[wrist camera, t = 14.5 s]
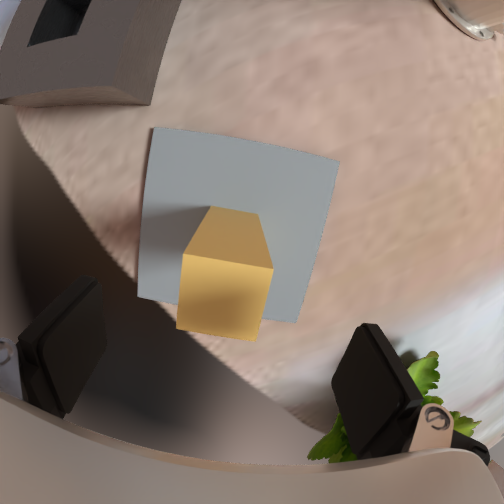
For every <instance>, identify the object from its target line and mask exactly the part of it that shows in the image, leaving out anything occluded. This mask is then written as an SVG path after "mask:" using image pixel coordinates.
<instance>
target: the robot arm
mask: <svg viewBox="0 0 504 504" xmlns="http://www.w3.org/2000/svg"><path fill="white" fill-rule="evenodd" d="M434 1H435V3H436V4H437V5H438V7H439V8H440V9H441V10H442V11H443V13H444V14H445V15H446V16H447V17H448V18H449V19H450V20H451V21H452V22H453V23H454V24H455V25H456V26H457V27H458V28H460V29H461V30H462V31H463V32H464V33H466V34H467V35H469V36H470V37H472V38H474V39H477V40H480V41H484V40H488V39H491V38H492V37H493V34H494V31H497V32H498V33H502V34H503V35H504V0H434ZM18 340H19V342H18V343H17V344H16V345H15V344H14V342H12V341H11V340H9V339H6V338H0V504H504V469H503V468H502V467H501V466H499V465H498V464H497V463H496V462H495V461H493V460H491V461H490V455H489V452H488V449H487V447H486V446H485V445H484V444H482V443H480V442H478V441H476V440H474V439H472V438H470V437H468V436H466V435H464V434H462V433H460V432H458V431H456V430H454V429H453V427H454V420H453V418H452V415H451V414H450V412H449V411H448V410H447V409H446V408H444V407H443V406H441V405H438V404H435V403H430V404H426V405H425V406H424V407H422V406H421V403H422V401H423V400H424V398H423V396H422V394H421V392H420V391H419V389H418V387H417V386H416V384H415V382H414V381H413V379H412V377H411V376H410V374H409V372H408V371H407V369H406V368H405V366H404V364H403V363H402V361H401V360H400V358H399V356H398V355H397V353H396V352H395V350H394V349H393V347H392V345H391V344H390V342H389V341H388V339H387V338H386V336H385V335H384V333H383V332H382V330H381V329H380V327H379V326H378V325H377V324H369V323H363V324H362V325H361V326H360V327H357V328H356V330H355V332H354V334H353V336H352V339H351V341H350V343H349V345H348V347H347V349H346V351H345V353H344V355H343V358H342V360H341V362H340V364H339V366H338V368H337V370H336V372H335V373H334V375H333V378H332V382H331V384H332V389H333V392H334V395H335V398H336V401H337V404H338V407H339V411H340V414H341V417H342V420H343V424H344V427H345V430H346V434H347V437H348V440H349V444H350V447H351V450H352V453H353V454H356V456H357V461H349V462H340V463H329V464H313V465H255V464H241V463H230V462H221V461H212V460H204V459H198V458H192V457H186V456H181V455H176V454H171V453H166V452H161V451H157V450H153V449H149V448H145V447H141V446H137V445H133V444H130V443H127V442H123V441H120V440H117V439H114V438H111V437H108V436H105V435H102V434H99V433H96V432H94V431H91V430H88V429H86V428H83V427H81V426H78V425H75V424H73V423H70V422H68V421H65V420H63V418H64V416H65V414H66V413H70V412H71V411H72V408H73V407H74V405H75V403H76V401H77V399H78V397H79V395H80V394H81V392H82V390H83V388H84V386H85V385H86V383H87V381H88V379H89V377H90V376H91V374H92V372H93V370H94V369H95V367H96V365H97V363H98V362H99V360H100V358H101V357H102V355H103V353H104V351H105V349H106V346H107V339H106V331H105V322H104V312H103V299H102V286H101V284H100V283H98V280H97V279H96V278H94V277H90V276H86V275H81V276H80V277H79V278H78V279H76V280H75V281H74V282H73V283H72V284H71V285H70V286H69V287H68V288H67V289H65V290H64V291H63V292H62V293H61V294H60V295H59V296H58V297H57V298H56V299H55V300H54V301H53V302H52V303H51V304H50V305H49V306H48V307H47V308H46V309H45V310H44V311H43V312H42V313H41V314H40V315H39V316H38V317H37V318H36V319H35V320H34V321H33V322H32V323H31V324H30V325H29V326H28V327H27V328H26V329H25V330H24V331H23V332H22V333H21V334H20V335H19V336H18ZM489 461H490V462H489Z"/></svg>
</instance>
